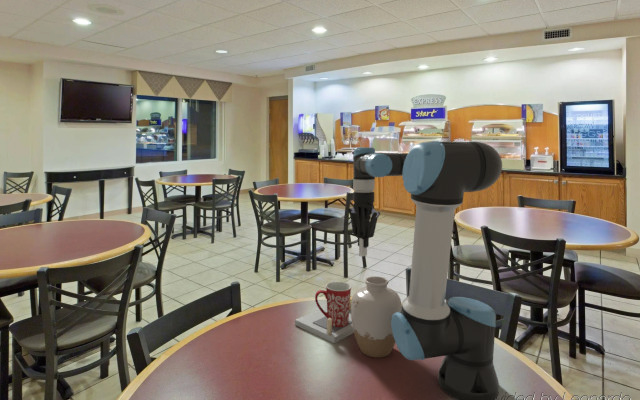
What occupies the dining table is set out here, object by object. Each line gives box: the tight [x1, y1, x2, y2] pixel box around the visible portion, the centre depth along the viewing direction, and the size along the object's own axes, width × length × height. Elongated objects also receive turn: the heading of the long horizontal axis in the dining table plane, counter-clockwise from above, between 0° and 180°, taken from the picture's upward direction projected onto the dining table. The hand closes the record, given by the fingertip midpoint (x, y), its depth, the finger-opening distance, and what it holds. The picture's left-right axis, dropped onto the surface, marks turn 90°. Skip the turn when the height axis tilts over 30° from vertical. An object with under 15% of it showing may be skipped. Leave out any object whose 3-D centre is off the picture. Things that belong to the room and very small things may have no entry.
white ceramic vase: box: [351, 276, 402, 359], centre depth 119 cm, size 16×16×23 cm
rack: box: [294, 305, 354, 344], centre depth 138 cm, size 19×23×7 cm
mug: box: [314, 281, 352, 327], centre depth 133 cm, size 13×9×14 cm
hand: (363, 255), depth 139 cm, fingers closed
